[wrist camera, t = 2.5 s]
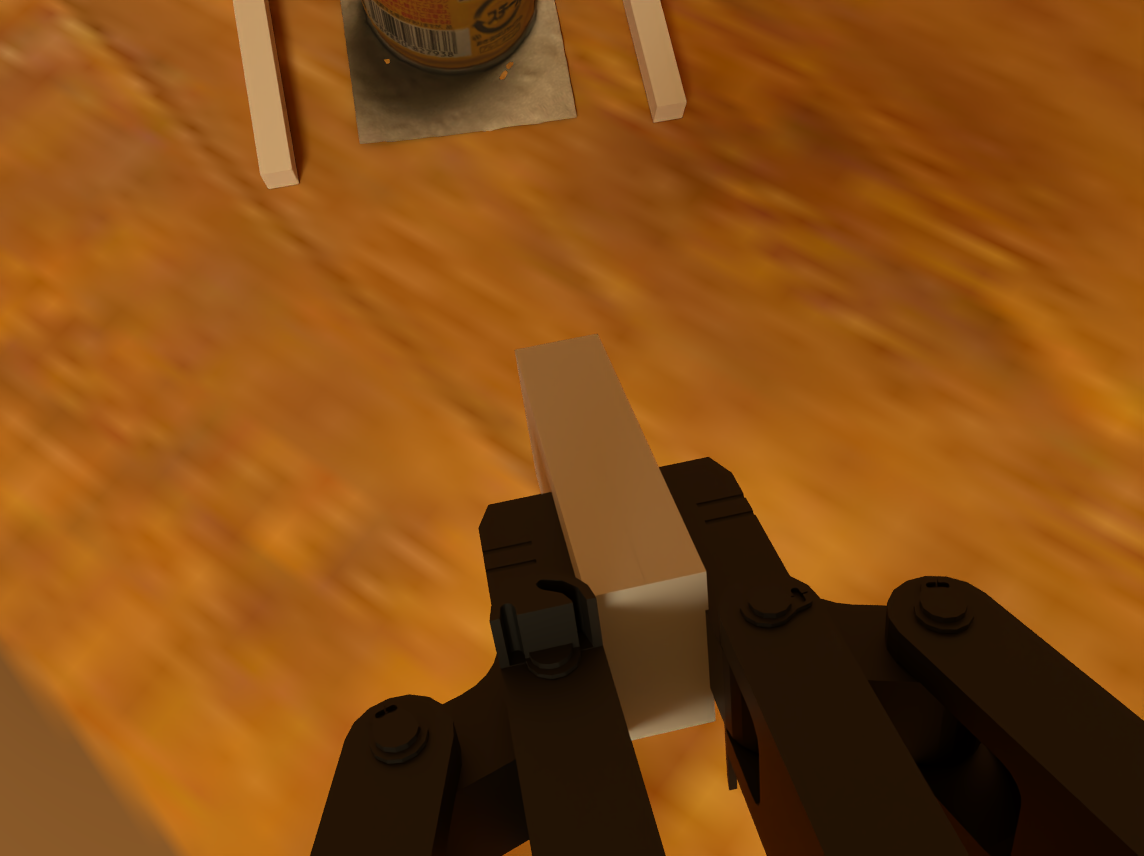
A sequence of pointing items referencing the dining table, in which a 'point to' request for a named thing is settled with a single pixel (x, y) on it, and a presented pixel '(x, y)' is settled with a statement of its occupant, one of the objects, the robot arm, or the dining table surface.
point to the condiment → (454, 66)
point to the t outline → (271, 103)
